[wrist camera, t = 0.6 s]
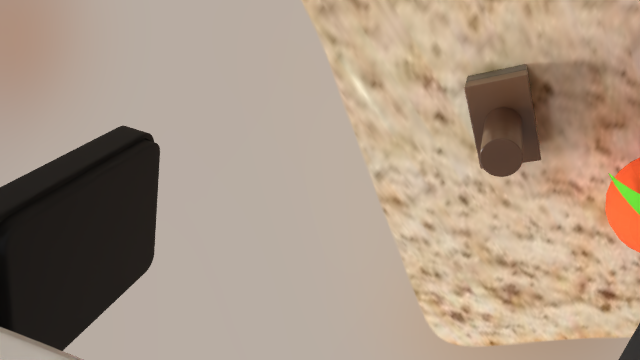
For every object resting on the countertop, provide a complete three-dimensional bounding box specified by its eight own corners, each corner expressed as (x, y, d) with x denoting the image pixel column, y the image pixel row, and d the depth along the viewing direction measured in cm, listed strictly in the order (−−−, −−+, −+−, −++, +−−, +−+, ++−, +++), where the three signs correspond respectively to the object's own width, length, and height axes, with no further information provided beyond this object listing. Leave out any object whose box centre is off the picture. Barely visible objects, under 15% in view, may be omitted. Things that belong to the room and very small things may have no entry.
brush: (467, 76, 40) (455, 115, 32) (526, 63, 38) (529, 102, 31) (482, 153, 42) (475, 208, 34) (539, 144, 40) (545, 199, 33)
